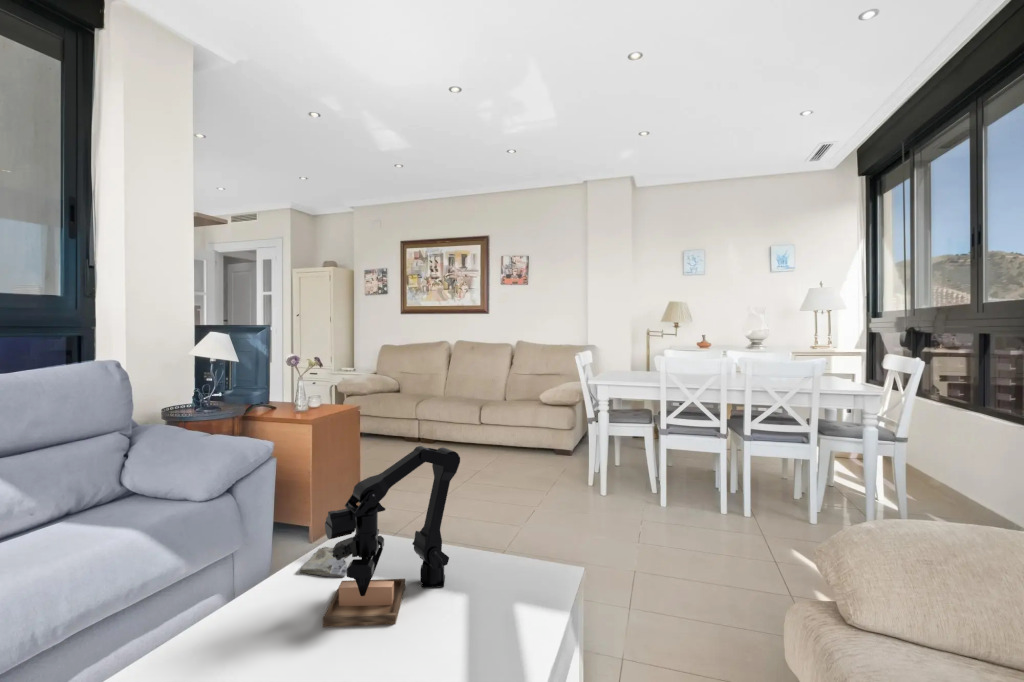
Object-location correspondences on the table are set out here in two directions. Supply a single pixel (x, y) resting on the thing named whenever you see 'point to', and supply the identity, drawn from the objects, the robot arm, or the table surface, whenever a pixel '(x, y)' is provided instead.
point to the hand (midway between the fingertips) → (366, 586)
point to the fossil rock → (325, 564)
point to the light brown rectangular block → (374, 595)
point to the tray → (364, 610)
